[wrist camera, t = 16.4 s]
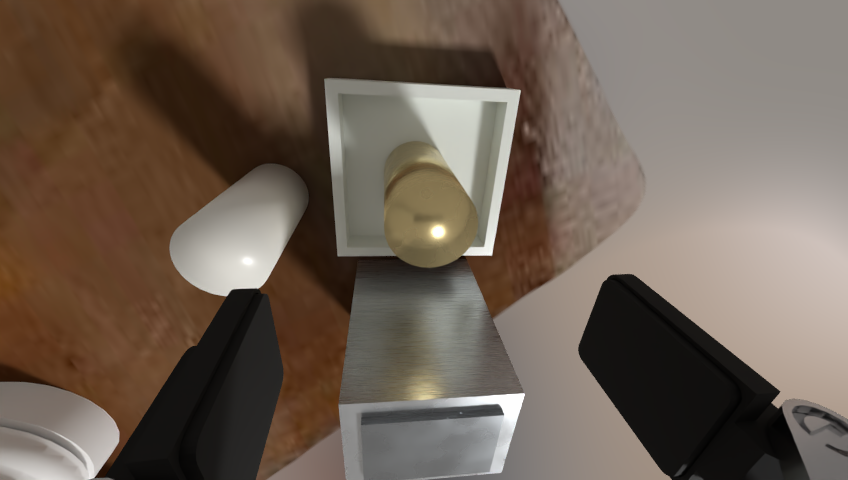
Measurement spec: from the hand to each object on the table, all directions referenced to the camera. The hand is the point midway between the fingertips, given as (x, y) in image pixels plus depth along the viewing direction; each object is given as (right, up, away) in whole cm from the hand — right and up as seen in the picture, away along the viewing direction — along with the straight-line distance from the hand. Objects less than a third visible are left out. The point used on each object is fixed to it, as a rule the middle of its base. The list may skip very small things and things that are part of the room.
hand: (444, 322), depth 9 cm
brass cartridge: (-1, +7, +14) cm, 16 cm away
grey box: (-2, -2, +20) cm, 20 cm away
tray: (-1, +7, +14) cm, 16 cm away
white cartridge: (-11, +6, +14) cm, 19 cm away
